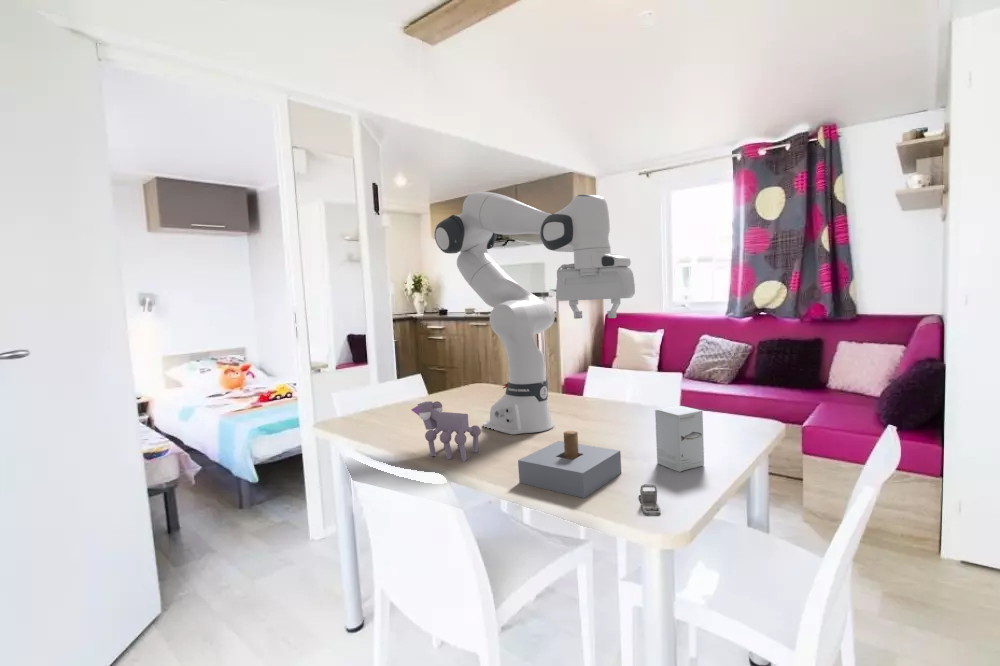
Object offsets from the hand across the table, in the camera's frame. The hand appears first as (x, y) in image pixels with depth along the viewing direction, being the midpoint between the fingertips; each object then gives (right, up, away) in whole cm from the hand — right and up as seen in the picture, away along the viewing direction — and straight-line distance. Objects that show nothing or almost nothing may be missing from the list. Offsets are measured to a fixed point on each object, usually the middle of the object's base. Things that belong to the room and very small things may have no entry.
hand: (594, 318), depth 124 cm
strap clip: (+4, -36, -30) cm, 47 cm away
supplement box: (+17, -34, -11) cm, 39 cm away
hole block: (-8, -35, -14) cm, 39 cm away
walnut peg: (-8, -35, -14) cm, 39 cm away
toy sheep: (-38, -36, +10) cm, 53 cm away
